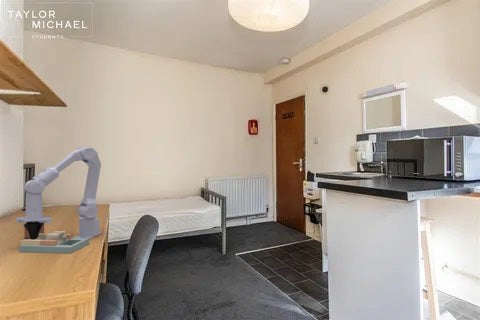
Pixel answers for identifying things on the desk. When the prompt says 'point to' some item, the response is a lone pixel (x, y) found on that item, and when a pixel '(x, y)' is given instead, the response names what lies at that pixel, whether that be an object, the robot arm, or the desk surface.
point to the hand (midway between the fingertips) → (33, 239)
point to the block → (57, 236)
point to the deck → (53, 245)
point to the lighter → (28, 233)
